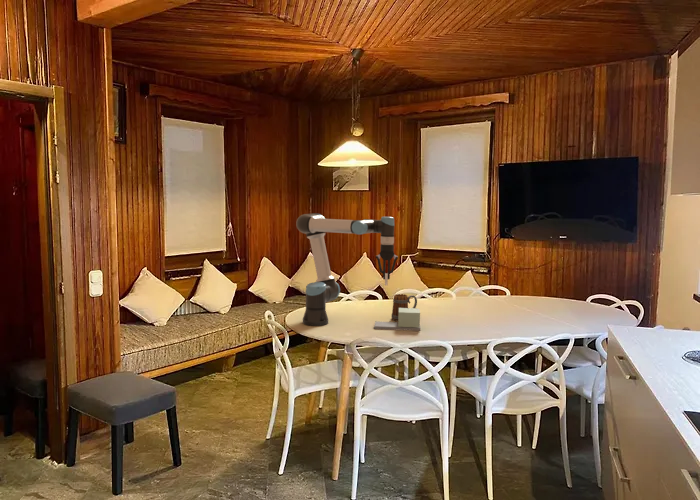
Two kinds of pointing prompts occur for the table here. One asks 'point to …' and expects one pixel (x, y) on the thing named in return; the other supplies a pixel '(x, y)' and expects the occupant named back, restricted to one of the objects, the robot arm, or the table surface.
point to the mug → (401, 304)
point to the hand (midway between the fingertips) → (386, 284)
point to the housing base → (392, 326)
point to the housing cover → (409, 317)
